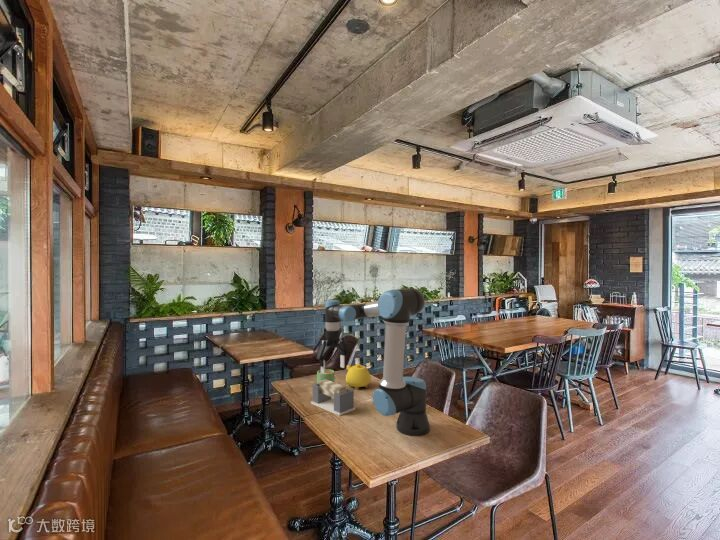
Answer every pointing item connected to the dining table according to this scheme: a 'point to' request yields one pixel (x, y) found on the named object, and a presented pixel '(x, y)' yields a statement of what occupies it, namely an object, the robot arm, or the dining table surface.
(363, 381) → the teapot
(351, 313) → the robot arm
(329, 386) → the rail
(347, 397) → the bracket board
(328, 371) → the mug
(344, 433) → the dining table surface
